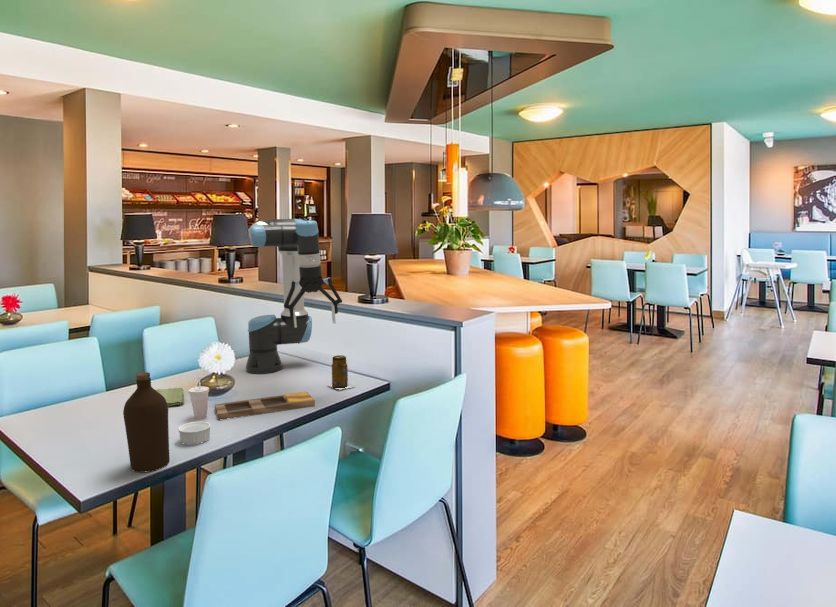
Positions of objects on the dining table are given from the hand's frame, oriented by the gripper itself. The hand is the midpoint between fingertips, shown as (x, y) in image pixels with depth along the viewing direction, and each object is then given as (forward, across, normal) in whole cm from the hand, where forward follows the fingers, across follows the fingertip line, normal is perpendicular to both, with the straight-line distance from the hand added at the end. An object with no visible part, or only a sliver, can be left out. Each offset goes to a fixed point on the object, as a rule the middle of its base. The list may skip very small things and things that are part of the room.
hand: (315, 324), depth 200 cm
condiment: (+29, +8, +10) cm, 32 cm away
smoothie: (+25, -40, -10) cm, 49 cm away
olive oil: (+22, -49, -46) cm, 71 cm away
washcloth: (+26, -55, +11) cm, 61 cm away
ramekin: (+24, -40, -31) cm, 56 cm away
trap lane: (+26, -20, -7) cm, 33 cm away
